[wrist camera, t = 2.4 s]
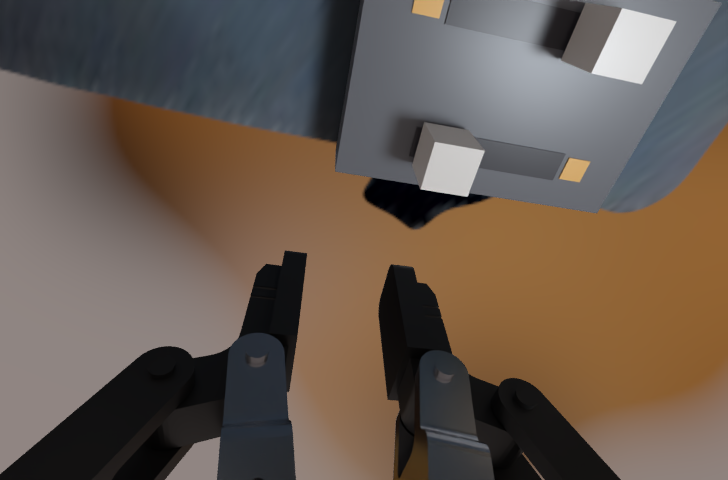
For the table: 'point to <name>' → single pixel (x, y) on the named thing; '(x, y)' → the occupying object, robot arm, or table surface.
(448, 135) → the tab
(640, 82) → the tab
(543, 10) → the switch box
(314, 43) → the table surface
